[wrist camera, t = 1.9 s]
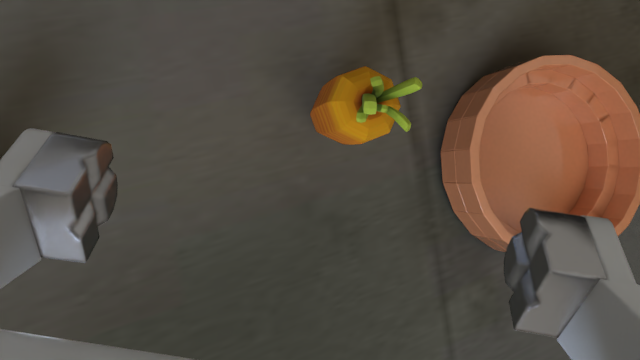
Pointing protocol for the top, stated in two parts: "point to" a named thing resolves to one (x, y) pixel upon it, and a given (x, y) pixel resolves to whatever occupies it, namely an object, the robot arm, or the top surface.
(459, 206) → the pot
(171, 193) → the top surface
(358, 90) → the carrot
